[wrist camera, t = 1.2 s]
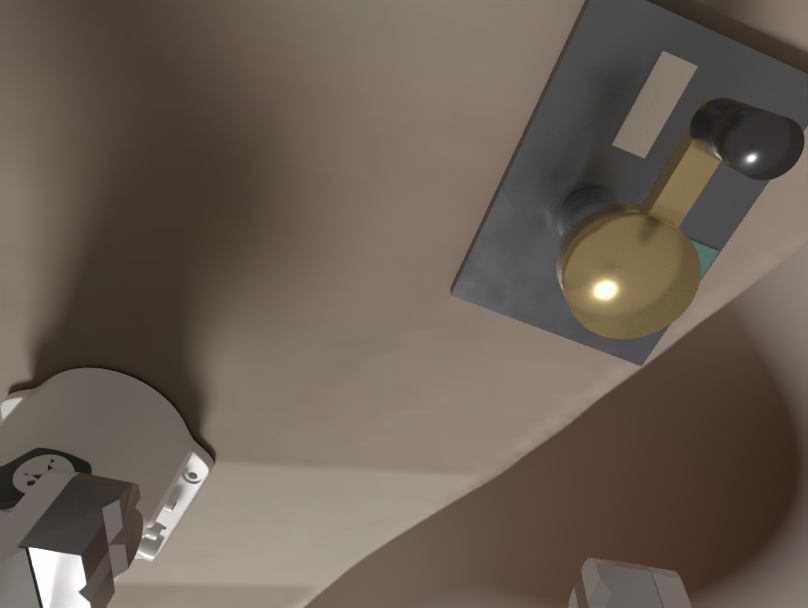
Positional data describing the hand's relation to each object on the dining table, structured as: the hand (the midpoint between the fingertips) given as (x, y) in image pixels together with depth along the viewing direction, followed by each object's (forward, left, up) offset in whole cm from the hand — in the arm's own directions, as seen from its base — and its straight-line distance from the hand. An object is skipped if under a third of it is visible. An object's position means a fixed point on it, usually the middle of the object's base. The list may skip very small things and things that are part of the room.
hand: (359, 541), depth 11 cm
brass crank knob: (+3, -13, -25) cm, 28 cm away
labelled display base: (+2, -14, -33) cm, 36 cm away
